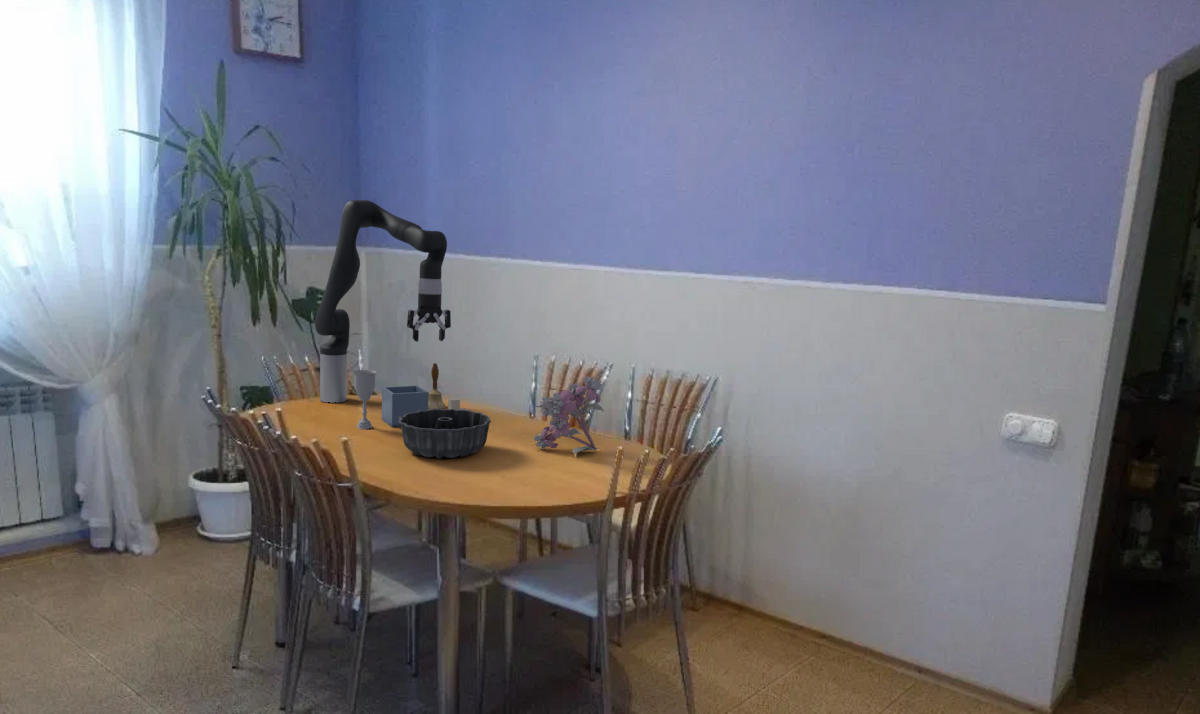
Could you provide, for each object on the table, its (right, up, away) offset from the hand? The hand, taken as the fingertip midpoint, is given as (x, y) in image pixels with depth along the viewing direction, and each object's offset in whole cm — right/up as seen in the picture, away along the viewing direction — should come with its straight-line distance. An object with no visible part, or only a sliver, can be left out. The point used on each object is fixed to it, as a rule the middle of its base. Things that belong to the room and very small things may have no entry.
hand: (428, 341), depth 283 cm
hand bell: (-3, -24, +25) cm, 35 cm away
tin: (-8, -27, 0) cm, 28 cm away
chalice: (-19, -28, -10) cm, 35 cm away
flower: (+45, -34, -28) cm, 63 cm away
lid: (+7, -27, +8) cm, 29 cm away
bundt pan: (+11, -33, -34) cm, 49 cm away
